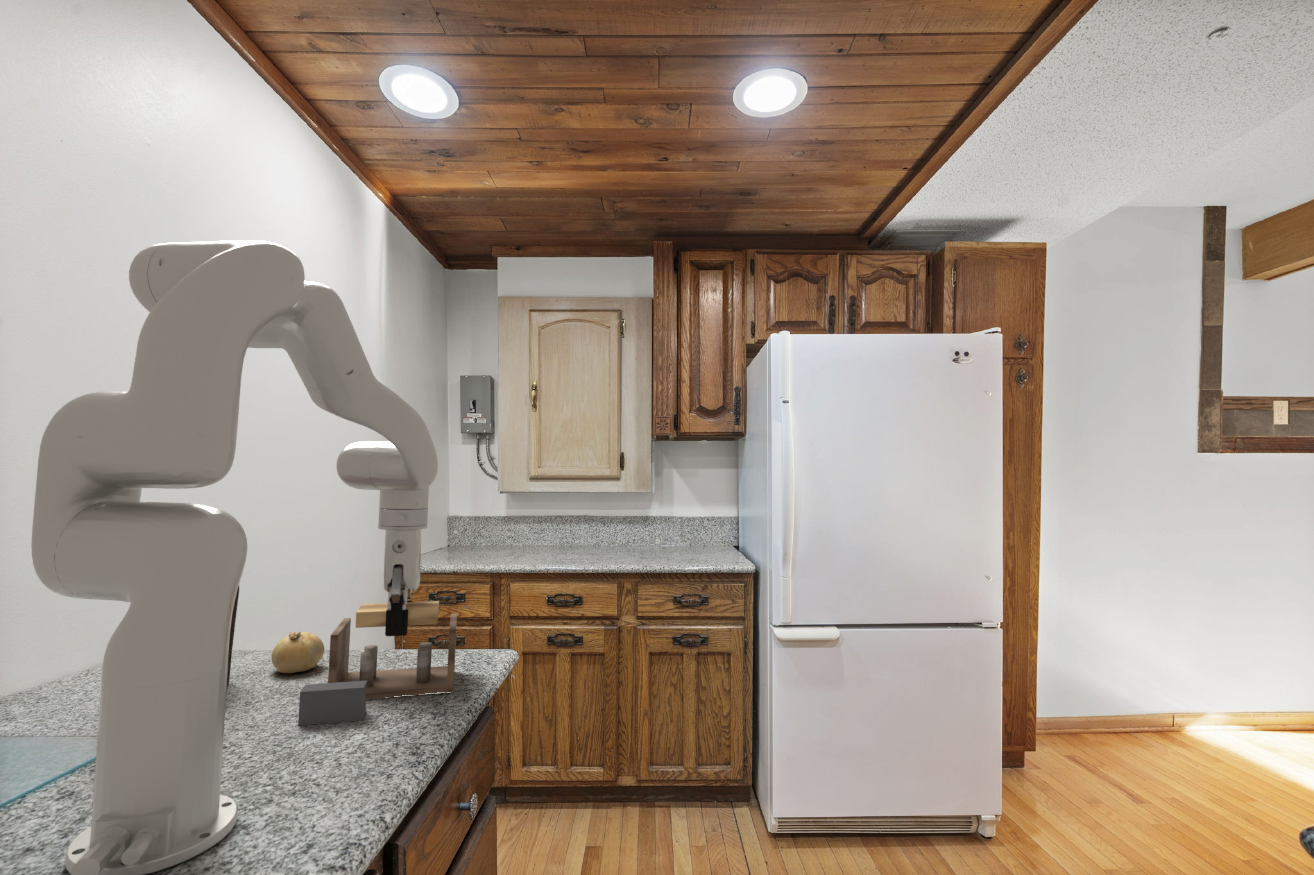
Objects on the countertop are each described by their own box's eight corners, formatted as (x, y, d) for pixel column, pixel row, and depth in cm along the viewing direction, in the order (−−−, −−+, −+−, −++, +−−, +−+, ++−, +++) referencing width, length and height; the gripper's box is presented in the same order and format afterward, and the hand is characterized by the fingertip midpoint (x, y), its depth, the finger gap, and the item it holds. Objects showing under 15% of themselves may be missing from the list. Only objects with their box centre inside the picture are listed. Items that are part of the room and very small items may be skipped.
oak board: (436, 624, 100) (437, 609, 100) (355, 627, 97) (356, 612, 97) (438, 615, 106) (439, 601, 106) (361, 618, 102) (362, 603, 103)
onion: (265, 669, 108) (268, 627, 108) (316, 660, 113) (318, 621, 113) (276, 681, 102) (278, 637, 102) (329, 671, 107) (331, 630, 107)
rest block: (362, 720, 87) (363, 687, 87) (298, 725, 85) (299, 691, 85) (365, 711, 90) (367, 680, 90) (303, 716, 88) (305, 684, 88)
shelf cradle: (453, 693, 98) (455, 629, 99) (326, 702, 93) (330, 635, 93) (454, 671, 109) (456, 613, 109) (341, 678, 103) (344, 618, 104)
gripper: (424, 524, 95) (419, 643, 94) (430, 515, 112) (426, 616, 111) (370, 524, 93) (365, 646, 92) (385, 515, 109) (380, 618, 108)
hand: (398, 628), depth 101 cm, fingers closed on oak board, 6 cm apart
